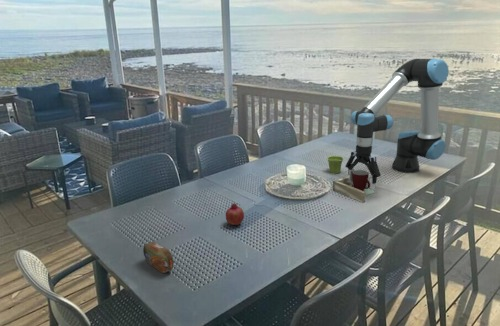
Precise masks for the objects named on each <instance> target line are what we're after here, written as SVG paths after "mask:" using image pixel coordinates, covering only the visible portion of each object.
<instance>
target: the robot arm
mask: <svg viewBox="0 0 500 326" xmlns="http://www.w3.org/2000/svg"><path fill="white" fill-rule="evenodd" d="M449 72H450V71H449V66H448V64H447V63H446V61H445V60H443V59H440V58H439V59H438V58H413V59H411V60H408V61H406V62H404V63H403V64H402V65H401V66H399V67H398V68H397V69H396V70H394V72H393V73H392V75H391V78H390V79H388V81H387V82H386V83H385V84H384V85H383V86H382V87H381V88H380V89H379V90H378V92H376V94H375V95H374V96H373V97H372V98H371V99H369V101H368V102H367V103H366V104H365V105H364V106H363V107H362V108H361V109H360V110H355V111H353V112H352V113H351V115H350V121H351V123H352V124H353V125H355V126H356V142H355V144H356V145H355V150H354V151H351V152H350V156H349V157H348V160H347V162H346V163H345V168H347V170H348V176H349V182H351V181H352V172H353V171H355V169H354V168H355V167H356V166H357V165H358V164H359V163H360V164H362V165H365V167H366V168H367V170H368V172H369V173H370V175H371V176H370V180H369V182H370V188H369V189H370V190H372V191H373V190H374V189H375V187H376V183H377V181H378V180H377V179H378V178H380V177H381V172H380V169H379V165H378V162H377V157H376V156H372V151H373V139H374V133H376V132H381V131H386V130H390V129H391V128H392V127H393V125H394V120H393V117H392V116H391V115H389V114H378V113H380V111H381V110H382V109H383V108H384V107H386V105H387V104H388V103H390V100H392V98H393V97H395V96H396V95H397V93H398V92H399V91H400V90H402V88H403V87H406V86H408V84H409V83H411V82H417V88H419V89H420V129H419V130H404V131H400V132H399V133H398V134H397V135H398V136H397V144H396V155H395V158H394V160H393V162H392V164H391V168H392V170H394V171H396V172H400V173H408V174H409V173H410V174H412V173H418V172H419V171H420V163H419V157H422V158H424V159H427V160H433V161H435V160H438V159H439V158H441V157H442V155H443V154H444V152H445V150H446V147H447V143H446V141H445V140H444V139H442V133H440V132H439V113H440V112H439V109H440V108H439V107H440V104H439V103H440V88H441V87H442V86H443V83H444V82H446V80H447V79H448V77H449Z"/></svg>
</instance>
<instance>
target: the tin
mask: <svg viewBox="0 0 500 326" xmlns="http://www.w3.org/2000/svg"><path fill="white" fill-rule="evenodd" d="M142 249H143V251H142V252H143V256H144V258H145V261H146V262H147V264H149V265H150V266H151V267H153V268H154V269H156V270H157V271H159V272H161V273H162V274H166V273H168V272H169V271H172V269H174V257H173V255H172V253H171V252H170V250H169V249H167V248H166V247H164V246H162V245H160V244H159V243H157V242H154V241H151V242H148V243H145V244H144V245H143V248H142Z"/></svg>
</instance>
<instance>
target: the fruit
mask: <svg viewBox="0 0 500 326" xmlns="http://www.w3.org/2000/svg"><path fill="white" fill-rule="evenodd" d="M244 218H245V212H244V210H243V208H242V207H240V206H238V204H237V203H232V204H231V206H230V207H229V208H228V209H226V211H225V220H226V223H228V224H230V225H233V226H237V225H239V224H241V223H242V222H243V221H244Z"/></svg>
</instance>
